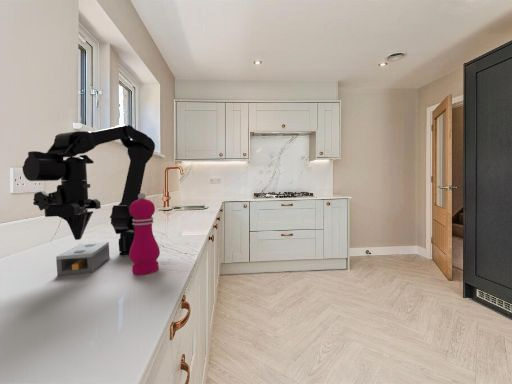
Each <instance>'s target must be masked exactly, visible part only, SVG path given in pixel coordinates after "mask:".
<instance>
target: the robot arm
mask: <svg viewBox="0 0 512 384" xmlns="http://www.w3.org/2000/svg"><path fill="white" fill-rule="evenodd" d="M117 140H120V142H121V144H122V145H123V146H124V147H125V148H126V149H127V156H128V158H129V166H128V170H127V175H126V178H125V179H126V180H125V184H124V188H123V192H122V198H121V201H120V203H119V204H118V205H115V204H114V205H113V206H112V207H111V214H110V217H109V219H110V225H111V226H112V227H113V229H114V232H115V234H116V235H119V239H118V252H119V255H129V253H130V248H131V245H132V243H133V240H134V236H135V227H134V225H133V224H132V223H133V221H132V219H134V218H133V216H132V215H131V214H130V211H129V209H130V205H131V204H132V203H133V202H134V201H136V200H139V198H138V195H139V194H140V193H141V190H142V186H143V180H144V176H145V170H146V165H147V163H148V162H149V161H150V160H151V159H152V157H153V155H154V153H155V149H156V144H155V142H154V140H153V139H152V138H151V137H150V136H148V135H147V134H146V133H144V132H141V131H140V130H137V129H136V128H134V127H133V126H132V125H130V124H120V125H116V126H113V127H109V128H108V127H107V128H103V129H99V130H93V131H84V130H83V131H71V132H70V131H69V132H62V133H58V134H56V135H55V137H54V141H53V144H52V145H51V146H50V147H49V149H48V150H47V151H46V152H41V151H34V150H33V151H28V152H27V158H26V159H25V160H24V163H23V165H22V173H23V176H24V177H25V179H26V180H27V181H30V182H53V181H54V182H55V181H59V180H61V181H60V182H61V184H57V185H56V191H53V192H49V193H47V192H46V191H38V192H36V193H34V195H33V199H32V200H33V202H32V204H33V206H37V208H38V209H39V211H43V210H44V217H45V218H50V217H51V218H52V217H58V218H60V219H63V220H64V221H65V222H66V223H67V225H68V226H69V229H70V231H71V233H72V236H73V237H74V240H76V241H79V240H81V239H82V237H83V235H84V233H85V230H86V228H87V226H88V224H89V221H90V219H91V217H92V215H93V214H94V211H92V210H93V209H95V210H100V209H101V205H102V204H101V201H100V200H99V199H97V198H96V199H94V198H89V188H91V184H90V183H88V174H87V172H88V171H87V165H90V164H94V163H95V162H94V160H93V159H92V158H90V157H89V156H88V154H86V153H88V152H90V151H92V150H93V149H95V148H96V147H97V146H99V145H103V144H105V143H110V142H114V141H117ZM80 154H81V155H80ZM77 155H79V156H77ZM64 158H66V159H64ZM90 209H92V210H91V211H88V210H90Z"/></svg>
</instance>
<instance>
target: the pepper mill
mask: <svg viewBox="0 0 512 384" xmlns="http://www.w3.org/2000/svg"><path fill="white" fill-rule="evenodd" d="M138 198H139V200H136V201H134V202H133V203H132V204H131V205H130V209H129V211H130V214H131V215H132V216H133V218H134V219H132V221H133V223H132V224H133V225H134V227H135V236H134V240H133V243H132V245H131V248H130V253H129V254H128V255H129V256H128V258H129V260H130V261H131V262H132V263H134V264H132V265H131V267H132V268H131V269H132V271H131V272H132V274H134V275H138V276H139V275H142V276H143V275H150V274H152V273H155V272H157V271H158V270H159V261H157V260H158V259H159V258H160V253H161V251H160V247H159V245H158V243H157V240H156V239H155V236H154V232H153V224H154V217H153V215H154V214H155V211H156V207H155V204H154V202H153V201H151V200H149V199H146V194H145V193H143V192H140V194H139V195H138Z"/></svg>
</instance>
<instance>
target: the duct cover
mask: <svg viewBox="0 0 512 384" xmlns="http://www.w3.org/2000/svg"><path fill="white" fill-rule="evenodd" d="M108 245H109V241H105V242H103V241H102V242H92V243H91V242H89V243H78V244H77V245H74V246H73V247H71V248H70V249H67V250H65V251H63V252H61V253H60V254H57V255H56V256H55V260H57V259H71V258H85V257H92V256H94V255H95V254H96V253H98V252H99V251H101V250H102V249H103V248H105V247H106V246H108ZM109 246H110V245H109Z"/></svg>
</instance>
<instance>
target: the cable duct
mask: <svg viewBox="0 0 512 384" xmlns="http://www.w3.org/2000/svg"><path fill="white" fill-rule="evenodd" d="M110 258H111V257H110V245H108V246H106V247H105V248H103V249H102V250H101V251H99V252H98V253H96V254H95V255H94V256H92V257H85V258H71V259H57V260H56V259H55V260H56V273H57V276H67V275H77V274H88V273H93V272H95V271H96V270H97V269H98V268H99V267H101V265H103V264H104V263H106V262H107V260H108V259H110Z"/></svg>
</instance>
